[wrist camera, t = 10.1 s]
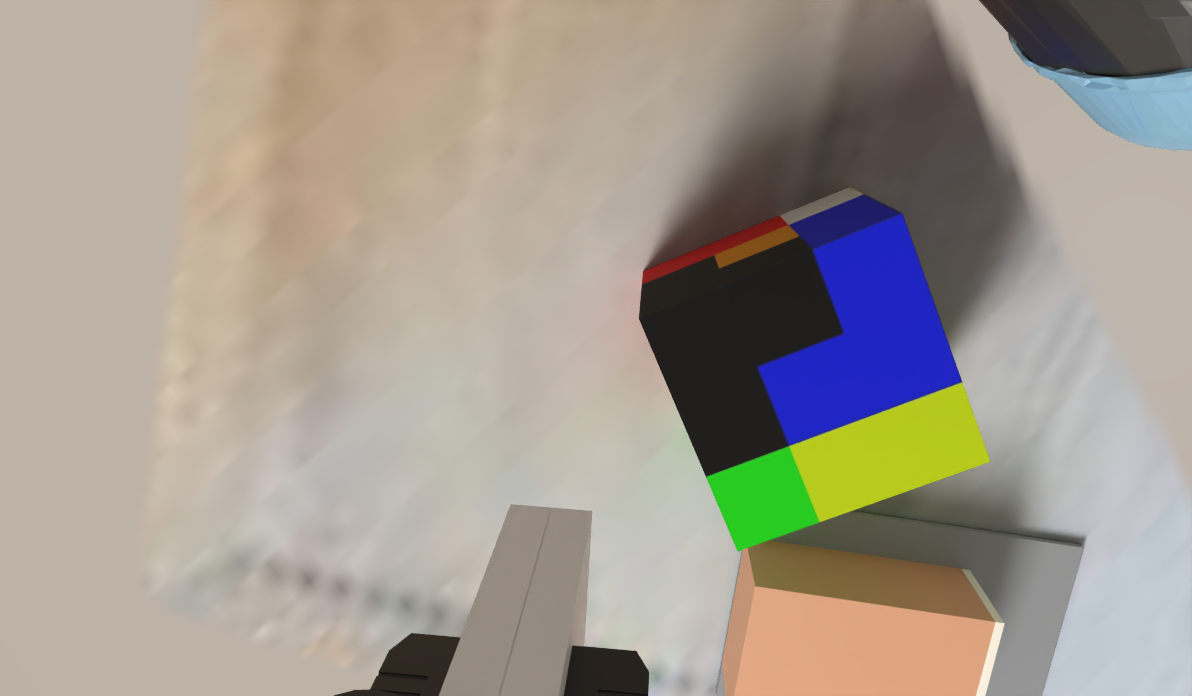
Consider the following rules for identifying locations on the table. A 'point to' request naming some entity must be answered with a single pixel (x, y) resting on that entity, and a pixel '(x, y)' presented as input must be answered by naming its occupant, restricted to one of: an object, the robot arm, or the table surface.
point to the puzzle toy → (810, 366)
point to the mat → (999, 564)
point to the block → (856, 626)
